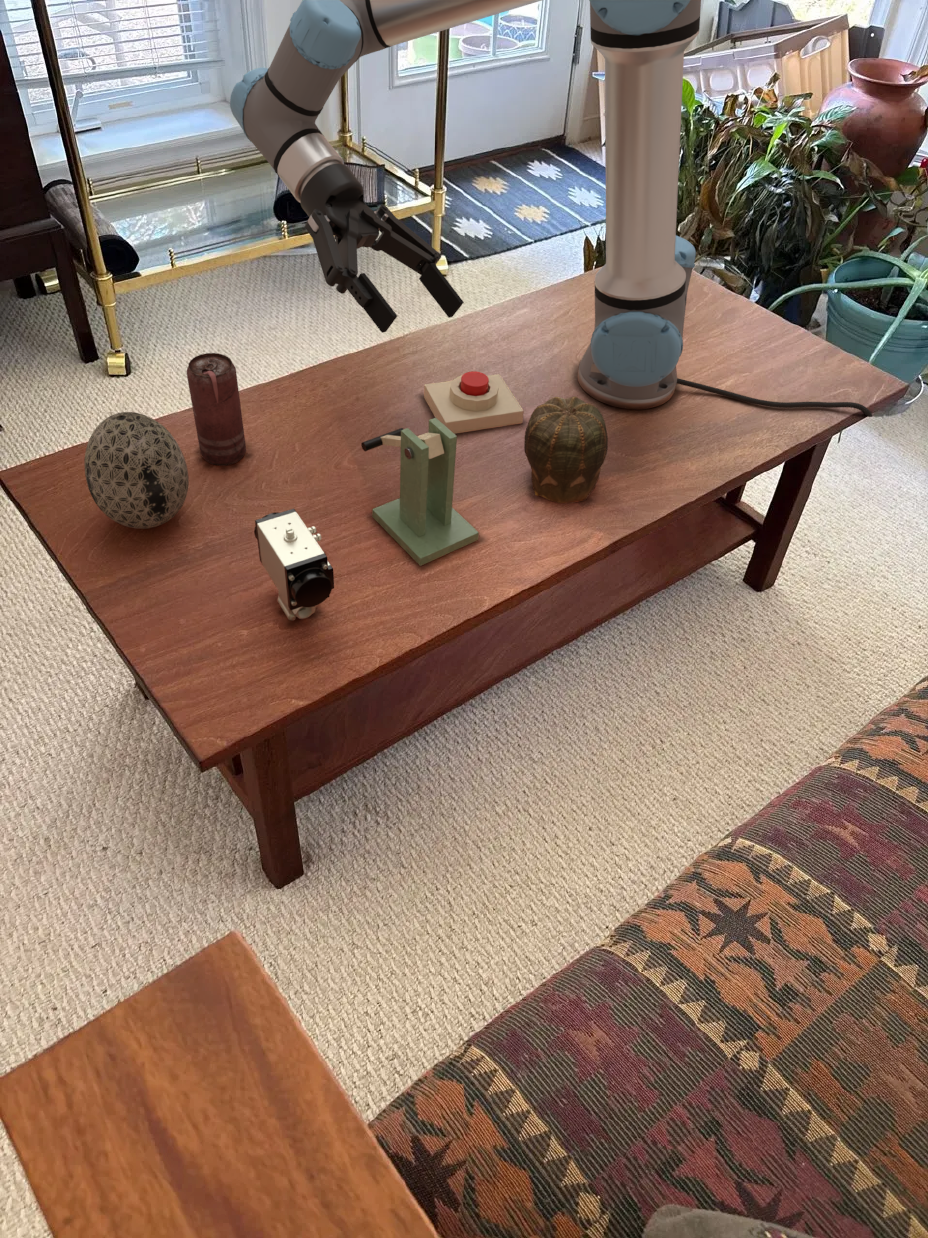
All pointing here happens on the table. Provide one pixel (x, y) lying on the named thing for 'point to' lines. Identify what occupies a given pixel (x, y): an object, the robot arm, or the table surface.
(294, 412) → the table surface
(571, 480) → the dark green ribbed dome
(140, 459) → the decorative egg
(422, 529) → the bracket
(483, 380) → the button
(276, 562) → the pneumatic valve
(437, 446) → the lever
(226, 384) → the can
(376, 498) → the table surface
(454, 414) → the control box
